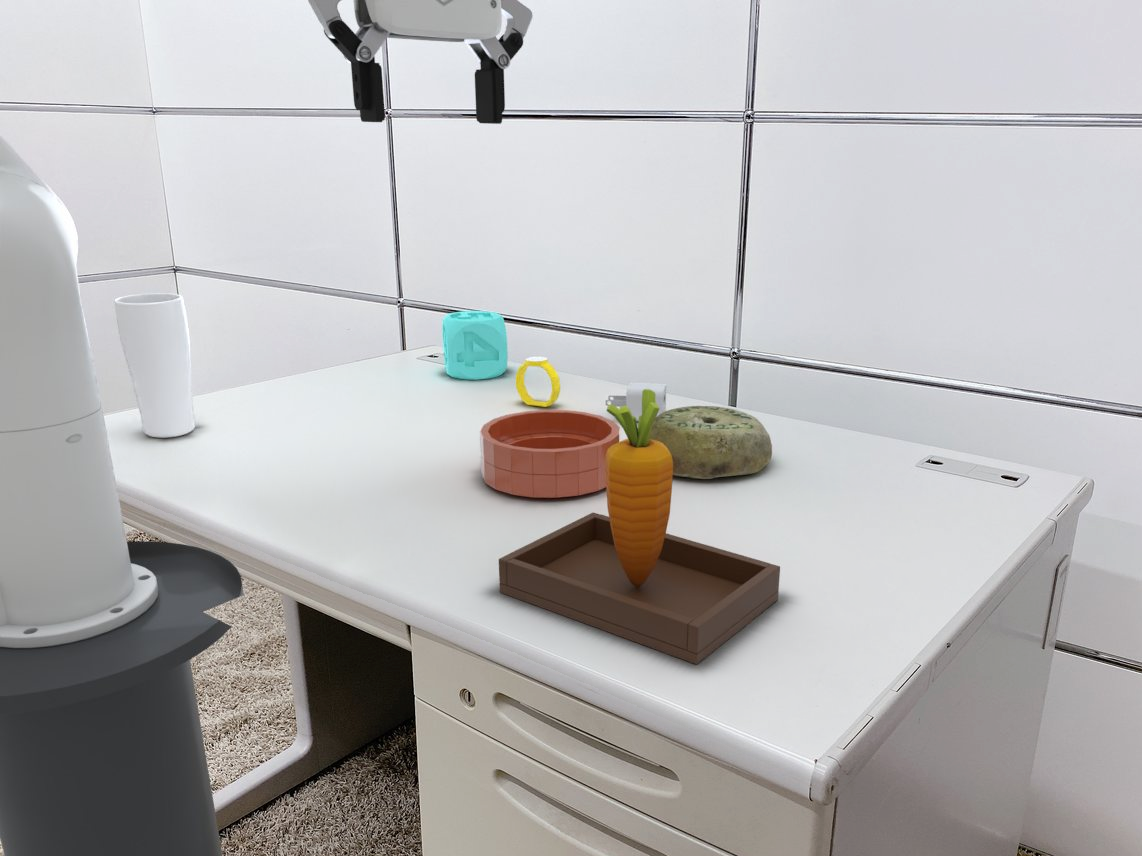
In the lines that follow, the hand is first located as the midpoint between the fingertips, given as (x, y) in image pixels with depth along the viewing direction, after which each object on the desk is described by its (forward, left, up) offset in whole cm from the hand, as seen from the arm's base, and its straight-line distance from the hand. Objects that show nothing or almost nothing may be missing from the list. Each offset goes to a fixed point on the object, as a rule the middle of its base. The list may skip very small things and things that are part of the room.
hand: (433, 122), depth 75 cm
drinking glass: (-15, +41, -34) cm, 55 cm away
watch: (+25, +28, -34) cm, 50 cm away
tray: (+5, -21, -33) cm, 40 cm away
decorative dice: (+26, +47, -34) cm, 63 cm away
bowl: (+13, +5, -33) cm, 36 cm away
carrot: (+5, -21, -33) cm, 39 cm away
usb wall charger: (+32, +17, -34) cm, 49 cm away
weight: (+29, 0, -34) cm, 44 cm away
